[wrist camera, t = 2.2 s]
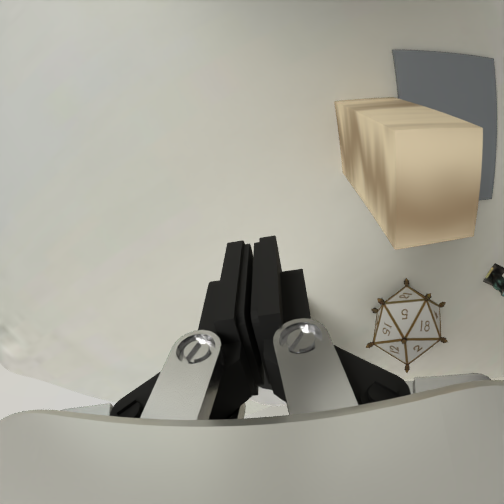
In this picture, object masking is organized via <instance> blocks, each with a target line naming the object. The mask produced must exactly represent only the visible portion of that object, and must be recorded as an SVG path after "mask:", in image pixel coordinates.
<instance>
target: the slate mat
mask: <svg viewBox="0 0 504 504" xmlns="http://www.w3.org/2000/svg"><path fill="white" fill-rule="evenodd" d="M392 52H393V59H394V66H395V73H396V82H397V90H398V99H402V100H405V101H408V102H412V103H415V104H418V105H422V106H425V107H428V108H431V109H434V110H437V111H440V112H443V113H445V114H448V115H451V116H454V117H456V118H459V119H462V120H464V121H467V122H469V123H472V124H474V125H477V126H479V127H482V128H483V149H482V168H481V181H480V192H479V200H486V199H492V193H493V184H494V174H495V161H496V142H497V98H496V79H495V67H494V59H493V58H487V57H480V56H473V55H466V54H457V53H447V52H436V51H420V50H392Z"/></svg>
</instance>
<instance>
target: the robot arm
mask: <svg viewBox="0 0 504 504" xmlns="http://www.w3.org/2000/svg"><path fill="white" fill-rule="evenodd" d="M264 369H265V373H266V377H267V380H268V384H269V385H271V386H272V390H273V394H274V395H276V396H277V397H279V398H280V399H282V400H283V401H284V402H286V403H287V407H288V412H289V415H286V416H274V417H262V418H247V419H244V414H245V407H246V405H245V402H246V401H247V400H248V399H249V398H251V397H252V396H255V395H258V386H261V385H264ZM0 504H504V380H491V379H490V378H489V377H487V376H485V375H483V374H478V373H470V374H460V375H447V376H432V377H415V378H414V381H404V380H403V379H401V378H400V377H398V376H397V375H395V374H393V373H391V372H388V371H386V370H384V369H382V368H380V367H378V366H376V365H374V364H372V363H369V362H367V361H365V360H363V359H361V358H359V357H357V356H355V355H353V354H351V353H349V352H347V351H345V350H343V349H341V348H339V347H337V346H335V345H333V342H332V340H331V338H330V335H329V333H328V331H327V329H326V328H325V326H324V325H323V324H321V323H320V322H318V321H316V320H313V319H311V317H310V310H309V304H308V298H307V292H306V286H305V281H304V275H303V269H298V270H291V271H284V272H282V269H281V264H280V258H279V252H278V246H277V241H276V236H269V237H263V238H260V242H257V243H254V257H253V254H252V249H251V245H250V244H245V243H244V241H237V242H231V243H227V248H226V253H225V258H224V263H223V268H222V273H221V278H220V281H213V282H210V283H209V285H208V289H207V293H206V298H205V302H204V306H203V311H202V315H201V319H200V324H199V328H198V330H197V331H193V332H190V333H187V334H185V335H184V336H182V337H181V338H179V339H178V340H177V341H176V342H175V344H174V345H173V347H172V349H171V351H170V353H169V355H168V357H167V360H166V362H165V364H164V366H163V368H162V370H161V372H159V373H158V374H157V375H155V376H154V377H152V378H151V379H149V380H148V381H146V382H145V383H144V384H142V385H141V386H139V387H138V388H136V389H135V390H133V391H132V392H130V393H129V394H127V395H126V396H125V397H123V398H122V399H120V400H119V401H118V402H117V403H116V404H115V405H114V406H112V405H111V404H110V403H108V404H102V405H95V406H87V407H79V408H69V409H64V410H60V411H58V410H30V411H22V412H18V413H14V414H12V415H9V416H7V417H5V418H3V419H2V420H0Z"/></svg>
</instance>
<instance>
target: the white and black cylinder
mask: <svg viewBox="0 0 504 504" xmlns="http://www.w3.org/2000/svg"><path fill="white" fill-rule="evenodd" d="M249 399H250V400H252V401H254V402H257V403H259V404H263V405H270V406H284V405H287V403H286V402H284V401H283V400H282V399H280V398H279V397H277V396H276V395H274V394H273V390H272V386H271V385H269V384H268V380H267V377H266V373H265V369H264V385H261V386H258V395H255V396H252V397H251V398H249Z"/></svg>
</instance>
